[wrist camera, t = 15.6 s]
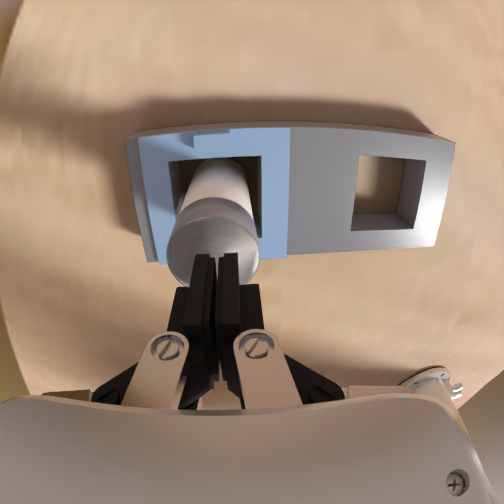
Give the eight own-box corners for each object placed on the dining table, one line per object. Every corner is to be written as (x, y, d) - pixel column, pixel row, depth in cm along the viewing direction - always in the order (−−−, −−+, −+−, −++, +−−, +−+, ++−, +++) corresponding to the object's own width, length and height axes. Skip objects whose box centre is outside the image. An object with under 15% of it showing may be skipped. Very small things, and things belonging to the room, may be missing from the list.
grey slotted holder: (433, 133, 20) (466, 147, 16) (416, 229, 25) (441, 255, 21) (138, 131, 19) (117, 143, 15) (155, 241, 24) (143, 273, 20)
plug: (246, 154, 21) (259, 212, 12) (248, 207, 23) (260, 292, 14) (188, 158, 20) (159, 218, 12) (194, 210, 23) (174, 296, 14)
